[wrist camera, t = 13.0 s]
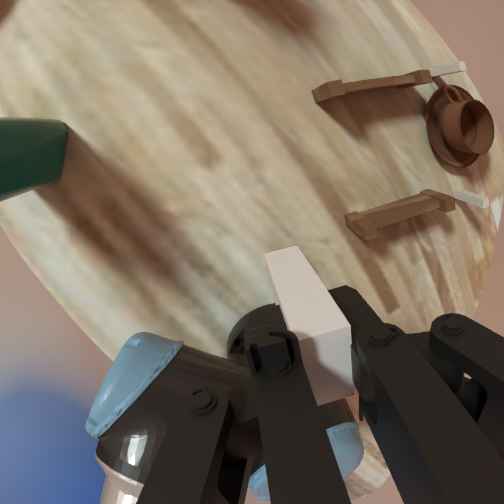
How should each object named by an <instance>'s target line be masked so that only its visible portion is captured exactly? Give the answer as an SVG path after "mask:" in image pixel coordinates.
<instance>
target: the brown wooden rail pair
mask: <svg viewBox="0 0 504 504" xmlns="http://www.w3.org/2000/svg"><path fill="white" fill-rule="evenodd" d="M432 82H433V81H432V77H431V74H430V70H418V71H415V72H411V73H408V74H404V75H401V76H392V77H384V78H376V79H369V80H362V81H355V82H349V83H343V84H342V81H341V80H336V81H330V82H326V83H325V84H323V85H321V86H319V87H317V88H316V89H314V90H312V93H313V97H314V100H315V103H319V102H323V101H328V100H331V99H333V98H336V97H339V96H341V95H346V94H352V93H357V92H363V91H370V90H376V89H383V88H390V87H398V89H399V88H408V87H412V86H417V85H422V84H427V83H432ZM434 209H439V210H441V211H444V212H446V213H447V212H450V211H453V210H455V198H454V197H452V196H449V195H446V194H443V193H440V192H437V191H433V190H430V189H427V190H424V191H420V194H418V195H414V196H411V197H408V198H405V199H401V200H398V201H395V202H392V203H388V204H385V205H382V206H379V207H376V208H372V209H369V210H366V211H363V212H360V213H358V212H356V211H355V212H352V213H349V214H346V215H345V219H346V224H347V227H348V228H350V229H351V230H352V231H354V232H355V233H356V234H358V235H359V236H360V237H362V238H363V239H364V240H365V241H367V240H370V239H373V238H376V237H378V233H377V229H378V228H381V227H384V226H387V225H390V224H393V223H396V222H399V221H402V220H405V219H408V218H411V217H414V216H417V215H420V214H423V213H426V212H429V211H431V210H434Z"/></svg>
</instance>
